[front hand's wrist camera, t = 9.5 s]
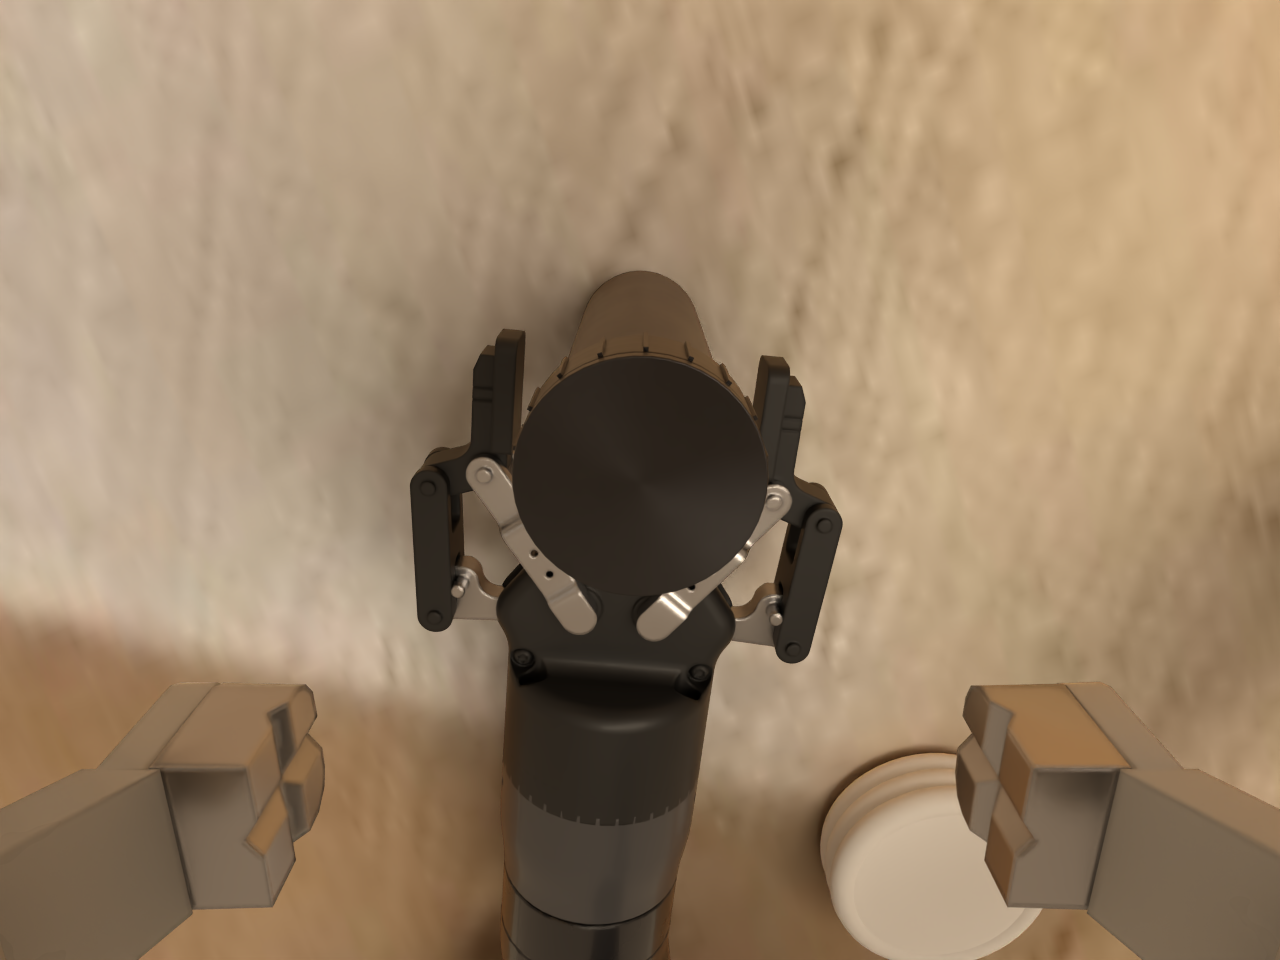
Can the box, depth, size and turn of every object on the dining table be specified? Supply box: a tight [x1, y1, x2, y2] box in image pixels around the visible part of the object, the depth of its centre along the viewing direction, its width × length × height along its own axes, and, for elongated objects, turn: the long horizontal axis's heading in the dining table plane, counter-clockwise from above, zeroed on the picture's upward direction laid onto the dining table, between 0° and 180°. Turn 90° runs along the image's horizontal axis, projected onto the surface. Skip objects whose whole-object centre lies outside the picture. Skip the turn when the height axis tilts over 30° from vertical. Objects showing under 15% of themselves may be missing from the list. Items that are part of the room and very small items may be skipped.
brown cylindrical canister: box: [568, 271, 712, 359], centre depth 27 cm, size 4×4×16 cm
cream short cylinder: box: [820, 753, 1043, 960], centre depth 41 cm, size 10×10×4 cm
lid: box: [512, 332, 769, 596], centre depth 19 cm, size 6×6×2 cm
